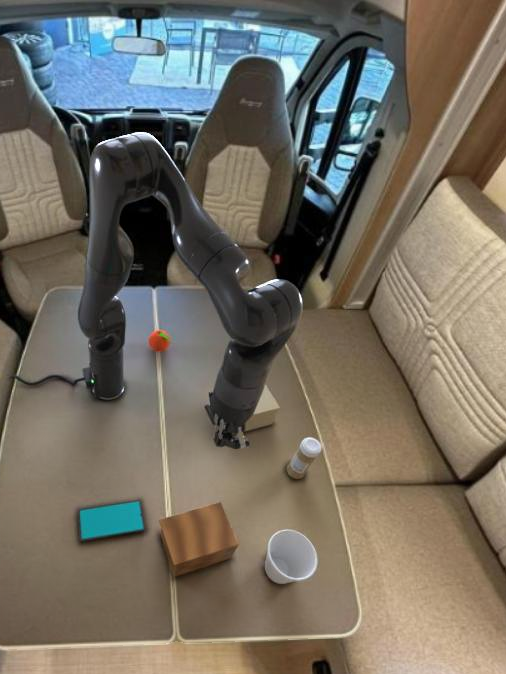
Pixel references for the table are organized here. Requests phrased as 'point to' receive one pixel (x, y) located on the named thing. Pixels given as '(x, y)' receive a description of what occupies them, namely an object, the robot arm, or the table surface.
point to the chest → (197, 560)
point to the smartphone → (110, 520)
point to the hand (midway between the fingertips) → (219, 442)
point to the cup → (290, 557)
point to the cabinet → (263, 411)
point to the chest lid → (197, 533)
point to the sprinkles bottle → (304, 457)
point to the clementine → (159, 340)
